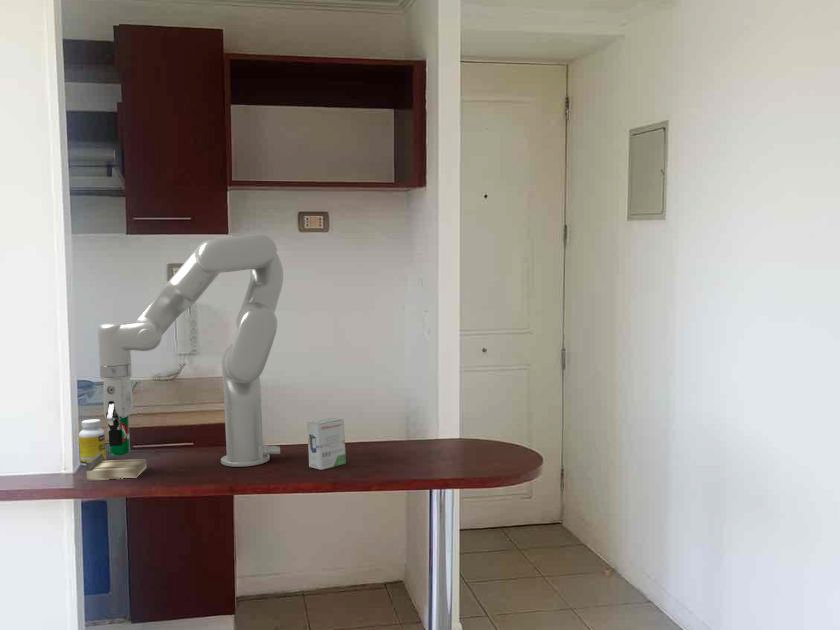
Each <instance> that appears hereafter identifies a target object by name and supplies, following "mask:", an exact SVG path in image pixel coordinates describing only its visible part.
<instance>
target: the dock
mask: <svg viewBox="0 0 840 630" xmlns="http://www.w3.org/2000/svg"><path fill="white" fill-rule="evenodd" d="M146 468H147V458H140V459H139V458H137V459H116V460H113V459H112V460H106V461H103V453H98V454H97V455H96V456H94V457H93V458H92V459H90V460H89V461H88V462H87V463H86V480H87V482H89V481H90V482H92V481H93V482H94V481H110V480H109V479H116V480H124V479H123V478H137V477H138V476H139V475H140V474H141V473H142V472H143V471H144V470H145V469H146ZM147 469H148V468H147ZM147 469H146V470H147ZM146 470H145V471H146ZM145 471H144V472H145ZM142 474H143V473H142ZM142 474H141V475H142ZM141 475H140V476H141ZM140 476H139V477H140ZM139 477H138V478H139ZM120 478H121V479H120ZM138 478H137V479H138Z"/></svg>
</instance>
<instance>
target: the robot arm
mask: <svg viewBox="0 0 840 630" xmlns="http://www.w3.org/2000/svg"><path fill="white" fill-rule="evenodd" d="M277 249H278V248H277V245H276V242H275V241H274V239H272V238H271V237H270V236H268V235H267V234H262V233H258V234H250V235H245V236H244V235H243V236H237V237H229V238H216V239H215V238H214V239H207V240H204V241H202V242H201V243H200V244H199V245H198V246H197V247H196V248H195V250H194V251H192V253H191V254H190V256H189V257H188V258H187V259H186V260H185V261H184V262H183V264H182V265H181V266H180V267H179V269H178V270H177V271H176V272H175V273H174V274H173V275H172V277H171V278H170V279H169V280H168V282H167V283H166V284H165V285H164V287H163V288H162V290H161V291H160V292H159V294H158V295H157V296H156V297H155V299H154V300H153V301H152V302H151V303H150V304H149V306H148V307H147V308H146V309H145V311H143V312H142V314H141V315H140V316H139V317H138V319H137V320H136V321H135V322H133V323H127V322H126V323H125V322H124V321H123V322H122V321H121V322H119V321H116V322H114V321H113V322H106V323H101V324H99V326H98V328H97V339H98V340H97V341H98V359H99V361H98V363H99V378H100V379H101V380H103V387H102V388H103V395H102V397H103V398H102V399H103V400H102V401H103V413H104V417H105V419H106V422H107V433H108V432H109V441H108V447H109V446H122V445H123V438H122V429H121V417H122V418H125V417H126V416H128V417H129V416H130V415H131V414H132V413H133V412H134V399H133V388H132V383H131V378H132V377H133V372H132V351H135V352H139V351H140V352H150V351H153V350H155V349H156V348H157V347H158V346H159V345H160V344H161V341H162V339H163V335H164V334H165V333H166V331H167V330H168V329H170V327H171V325H172V324H173V323H175V321H176V320H177V319H178V317H179V316H181V314H183V313H184V312H185V311H187V310H188V309H189V308H191V307H193V305H194V304H196V303H197V301H198V300H199V299H200V297H201V296H202V295H203V294H204V293H205V291H206V290H207V289H208V288H209V286H210V285H212V283H213V282H214V280H216V278H218V276H219V274H221V273H223V274H224V273H230V272H231V273H232V272H240V271H247V270H249V271H250V277H249V283H248V286H247V289H246V292H245V296H244V299H243V302H242V304H241V307H240V310H239V312H238V314H237V317H236V327H237V330H236V333H235V336H234V339H233V342H232V343H231V344H229V345H228V346H227V347H226V348H225V349H224V351H223V353H222V357H221V375H222V385H223V400H224V403H223V404H224V407H223V408H224V422H225V424H224V425H225V442H226V443H225V446H226V455H224V456H222V457H221V458H220V463H221V465H223V466H227V467H231V468H232V467H236V468H237V467H239V468H241V467H253V466H258V465H262V464H264V463H265V464H266V463H267V462H269V461H270V455H280V454H281V447H280V446H277V445H267V444H266V441H263V439H264V437H263V436H264V435H263V419H262V418H263V417H262V415H263V414H262V392H261V391H262V387H261V380H260V379H261V378H260V376H261V375H262V373H263V371H264V370H265V367H266V364H267V361H268V359H269V356H270V353H271V349H272V347H273V343H274V340H275V337H276V334H277V331H278V330H277V329H278V319H277V316H276V314H275V312H276V309H277V306H278V303H279V300H280V299H279V298H280V295H281V292H282V288H283V285H284V284H283V283H284V269H283V265H282V262H281V261H282V260H281V259H280V257H279V255H278V250H277ZM114 415H118V417H114ZM114 420H117V422H116V421H114ZM120 429H121V430H120Z"/></svg>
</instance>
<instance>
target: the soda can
mask: <svg viewBox="0 0 840 630" xmlns="http://www.w3.org/2000/svg"><path fill="white" fill-rule="evenodd" d="M114 417H118V415H114ZM129 419H130V417H129V415H128V416H126V417H125V418H122V417H121V429H122V438H123V445H122V446H109V445H108V453H109V454H110V455H111V456H117V457H118V456H124V455H128V454H129V453H130V451H131V442H130V441H131V440H130V421H129ZM114 421H116V422H117V420H114ZM121 429H120V430H121ZM107 437H108V438H107V439H108V440H107V441H108V442H109V432H108V431H107Z"/></svg>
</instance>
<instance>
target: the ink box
mask: <svg viewBox="0 0 840 630" xmlns="http://www.w3.org/2000/svg"><path fill="white" fill-rule="evenodd" d="M344 421H345V420H344V419H343V418H338V417H337V418H335V417H329V418H322V419H318V420H311V421H307V424H306V425H307V427H306V428H307V445H308V446H307V447H308V466H309V468H313V469H316V470H319V471H321V470H322V471H323V470H326V469H330V468H335V467H338V466H342V465H346V464H347V460H346V459H347V458H346V457H347V456H346V442H345V441H346V439H345V437H346V436H345V424H344V423H345V422H344Z"/></svg>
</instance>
